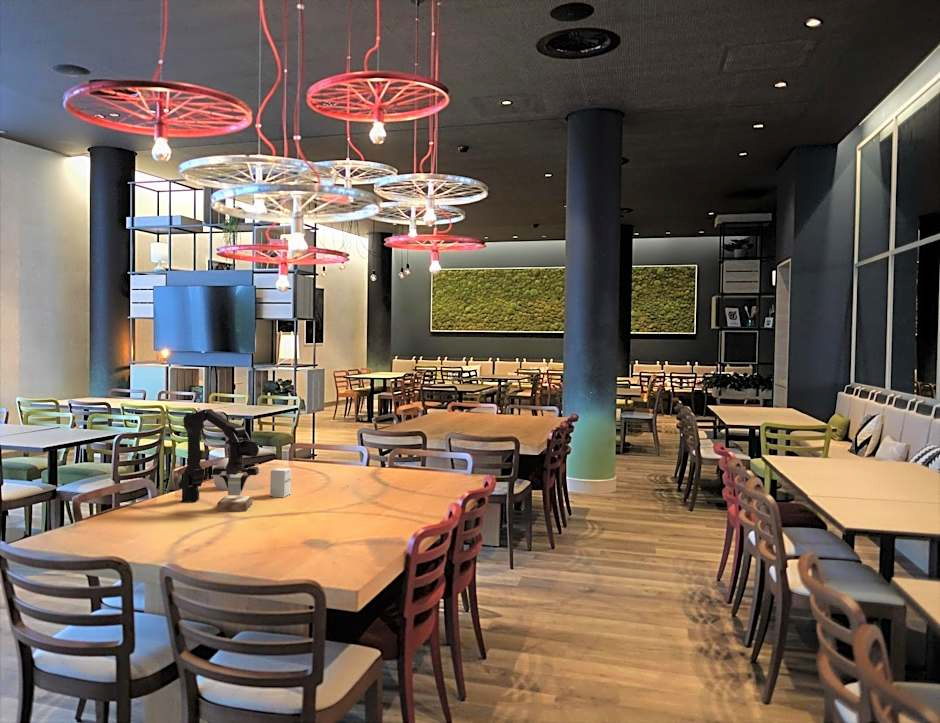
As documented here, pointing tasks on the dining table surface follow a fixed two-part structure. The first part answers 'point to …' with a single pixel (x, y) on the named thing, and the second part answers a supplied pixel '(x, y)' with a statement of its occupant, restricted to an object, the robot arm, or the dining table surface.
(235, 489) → the grey striped cube
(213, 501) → the dining table surface
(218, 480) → the decorative egg
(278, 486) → the supplement box
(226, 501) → the stand
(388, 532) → the dining table surface
